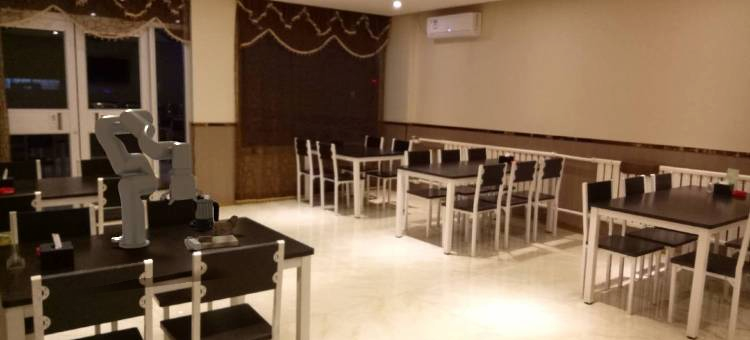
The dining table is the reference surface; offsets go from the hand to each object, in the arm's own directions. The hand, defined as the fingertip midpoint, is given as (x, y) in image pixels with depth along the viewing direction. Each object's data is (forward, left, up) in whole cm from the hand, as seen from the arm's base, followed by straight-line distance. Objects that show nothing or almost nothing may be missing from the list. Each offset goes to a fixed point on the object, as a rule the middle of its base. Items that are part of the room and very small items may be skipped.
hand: (182, 212), depth 239 cm
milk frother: (+15, +49, -19) cm, 54 cm away
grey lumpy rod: (+5, +4, -16) cm, 18 cm away
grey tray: (+14, +14, -19) cm, 27 cm away
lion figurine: (+23, +30, -19) cm, 43 cm away
